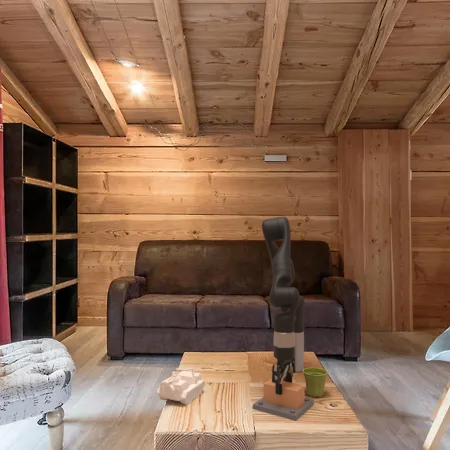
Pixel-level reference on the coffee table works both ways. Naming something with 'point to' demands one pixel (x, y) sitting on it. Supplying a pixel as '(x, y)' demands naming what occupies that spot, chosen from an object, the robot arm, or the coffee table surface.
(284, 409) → the baseplate
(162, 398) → the toy tank
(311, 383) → the plant pot
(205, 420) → the coffee table surface
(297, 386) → the brick
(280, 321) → the robot arm
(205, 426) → the coffee table surface
